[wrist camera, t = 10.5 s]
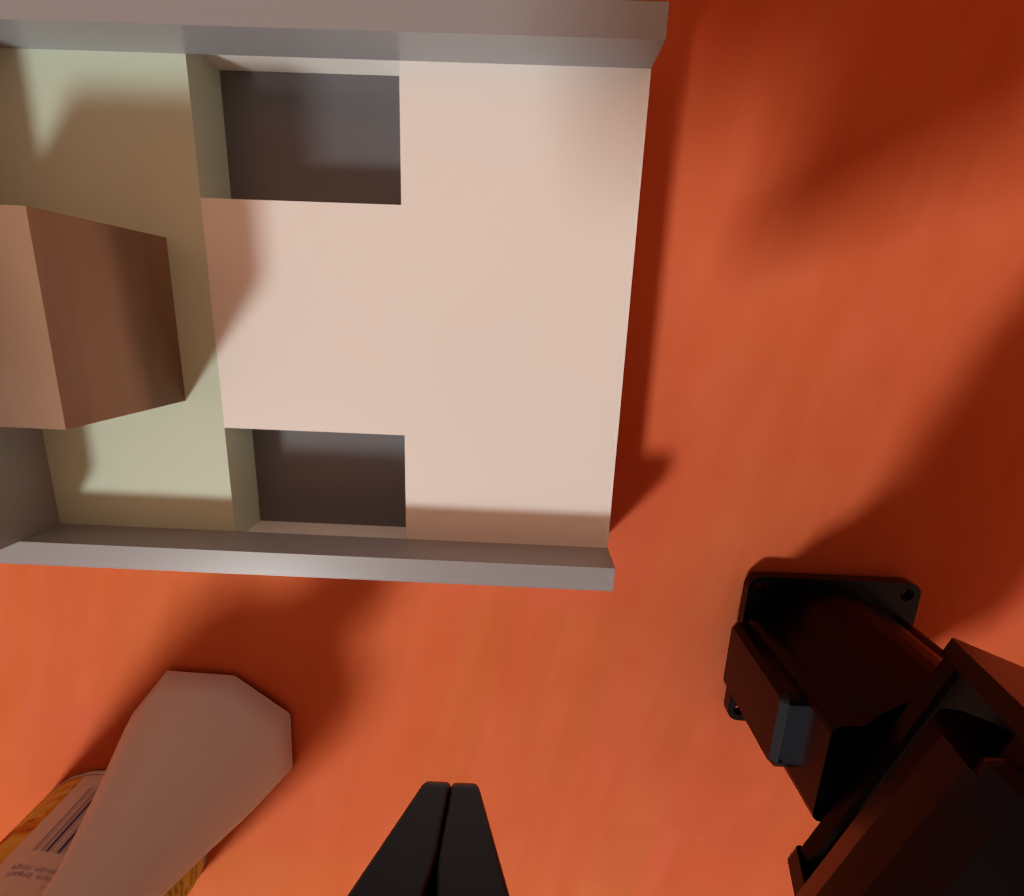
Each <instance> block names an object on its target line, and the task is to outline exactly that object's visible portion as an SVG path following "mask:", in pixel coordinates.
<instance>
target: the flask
mask: <svg viewBox="0 0 1024 896" xmlns="http://www.w3.org/2000/svg"><path fill="white" fill-rule="evenodd" d="M292 768H293V761H292V739H291V717H290V713H288V712H287V711H285V710H284V709H283V708H281V707H280V706H278V705H277V704H275V703H274V702H272V701H271V700H269V699H268V698H267V697H265V696H264V695H262V694H261V693H259V692H258V691H256V690H255V689H253V688H252V687H251V686H249V685H248V684H246V683H245V682H243V681H242V680H240V679H239V678H237V677H236V676H234V675H221V674H207V673H194V672H180V671H166V672H165V673H164V675H163V676H162V677H161V678H160V680H159V681H158V682H157V683H156V685H155V686H154V687H153V688H152V690H151V691H150V692H149V693H148V695H147V696H146V697H145V698H144V699H143V701H142V702H141V703H140V704H139V706H138V707H137V708H136V709H135V711H134V712H133V713H132V715H131V717H130V719H129V721H128V723H127V725H126V727H125V729H124V731H123V734H122V736H121V738H120V740H119V742H118V745H117V747H116V749H115V751H114V754H113V756H112V758H111V760H110V762H109V765H108V767H107V769H106V771H105V774H104V776H103V778H102V780H101V782H100V785H99V787H98V789H97V791H96V793H95V795H94V797H93V799H92V801H91V803H90V805H89V807H88V809H87V811H86V813H85V815H84V818H83V820H82V822H81V824H80V826H79V828H78V830H77V832H76V834H75V836H74V838H73V840H72V842H71V844H70V846H69V848H68V850H67V852H66V854H65V856H64V858H63V860H62V862H61V864H60V866H59V868H58V870H57V871H56V873H55V875H54V876H53V878H52V879H51V881H50V882H49V884H48V885H47V887H46V888H45V890H44V891H43V893H42V895H41V896H164V895H165V894H166V893H167V892H168V891H169V890H170V889H171V888H172V887H173V886H174V885H175V884H176V883H177V882H178V881H179V880H180V879H181V878H182V877H183V876H184V875H185V874H186V873H187V872H188V871H189V870H190V869H191V868H192V867H193V866H194V865H195V864H196V863H197V862H198V861H199V860H200V859H201V858H202V857H204V856H205V855H206V854H207V853H208V852H209V851H210V850H211V849H212V848H213V847H214V846H215V845H217V844H218V843H219V842H220V841H221V840H222V839H223V838H224V837H225V836H226V835H227V834H229V833H230V832H231V831H232V830H233V829H234V828H235V827H236V826H237V825H238V824H239V823H240V822H242V821H243V820H244V819H245V818H246V817H247V816H248V815H249V814H250V813H251V812H252V811H253V810H254V809H255V808H256V807H257V806H258V805H259V804H260V803H261V802H262V800H263V799H264V798H265V797H266V796H267V795H268V794H269V793H270V792H271V791H272V790H273V789H274V788H275V787H276V786H277V784H278V783H279V782H280V781H281V780H282V779H283V778H284V777H285V776H286V775H287V774H288V773H289V772H290V771H291V770H292Z"/></svg>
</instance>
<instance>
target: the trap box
mask: <svg viewBox="0 0 1024 896" xmlns="http://www.w3.org/2000/svg"><path fill="white" fill-rule="evenodd" d="M668 12H669V2H666V1H633V0H0V205H19V206H29V207H33V208H38V209H42V210H46V211H51V212H55V213H60V214H64V215H69V216H73V217H77V218H82V219H86V220H91V221H95V222H99V223H104V224H108V225H113V226H117V227H122V228H126V229H130V230H135V231H139V232H144V233H148V234H153V235H157V236H161V237H166V240H167V249H168V257H169V266H170V274H171V283H172V291H173V299H174V308H175V316H176V325H177V333H178V341H179V350H180V358H181V367H182V375H183V384H184V392H185V400H186V401H182V402H178V403H174V404H170V405H166V406H162V407H158V408H154V409H150V410H145V411H141V412H137V413H133V414H129V415H125V416H121V417H117V418H112V419H108V420H104V421H100V422H96V423H92V424H88V425H84V426H79V427H75V428H71V429H67V430H59V429H37V428H15V427H0V563H10V564H32V565H54V566H76V567H98V568H120V569H141V570H163V571H185V572H207V573H229V574H251V575H272V576H294V577H316V578H338V579H360V580H381V581H403V582H425V583H447V584H469V585H491V586H512V587H534V588H556V589H578V590H600V591H613V584H614V574H615V567H614V564H613V561H612V559H611V556H610V553H609V550H608V538H609V527H610V516H611V505H612V494H613V483H614V472H615V461H616V450H617V439H618V428H619V417H620V406H621V395H622V384H623V373H624V362H625V351H626V340H627V329H628V318H629V307H630V296H631V285H632V274H633V263H634V252H635V241H636V230H637V219H638V208H639V197H640V186H641V175H642V164H643V153H644V143H645V132H646V121H647V110H648V99H649V88H650V77H651V68H652V66H653V64H654V62H655V60H656V58H657V56H658V54H659V52H660V50H661V48H662V46H663V44H664V43H665V41H666V33H667V23H668Z"/></svg>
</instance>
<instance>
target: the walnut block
mask: <svg viewBox="0 0 1024 896" xmlns="http://www.w3.org/2000/svg"><path fill="white" fill-rule="evenodd" d="M182 401H186V400H185V392H184V384H183V375H182V367H181V358H180V350H179V341H178V333H177V325H176V316H175V308H174V299H173V291H172V283H171V274H170V266H169V257H168V249H167V240H166V237H161V236H157V235H153V234H148V233H144V232H139V231H135V230H130V229H126V228H122V227H117V226H113V225H108V224H104V223H99V222H95V221H91V220H86V219H82V218H77V217H73V216H69V215H64V214H60V213H55V212H51V211H46V210H42V209H38V208H33V207H29V206H19V205H0V427H15V428H37V429H59V430H67V429H71V428H75V427H79V426H84V425H88V424H92V423H96V422H100V421H104V420H108V419H112V418H117V417H121V416H125V415H129V414H133V413H137V412H141V411H145V410H150V409H154V408H158V407H162V406H166V405H170V404H174V403H178V402H182Z"/></svg>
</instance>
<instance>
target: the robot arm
mask: <svg viewBox="0 0 1024 896" xmlns="http://www.w3.org/2000/svg"><path fill="white" fill-rule="evenodd" d="M762 582H763V583H764V584H763V586H762V587H761V588H760V589H755V586H756V585H757V584H758V583H762ZM904 590H906V592H905V593H904V594H903V595H900V594H901V593H902V592H903V591H904ZM920 594H921V591H920V589H919V587H918V586H916V585H915V584H914V583H912V582H911V581H909V580H908V579H904V578H888V577H866V576H843V575H821V574H799V573H777V572H753V573H751V574H749V575H748V576H747V577H746V579H745V581H744V585H743V591H742V597H741V603H740V609H739V615H738V621H737V623H735V625H734V626H733V627H732V630H731V636H730V642H729V648H728V654H727V660H726V666H725V673H724V682H725V684H726V685H727V687H726V693H725V700H724V707H725V708H726V710H727V712H728V714H729V716H730V717H731V718H733V719H735V720H743V721H746V722H747V724H748V725H749V727H750V729H751V731H752V733H753V734H754V736H755V738H756V740H757V742H758V744H759V745H760V747H761V749H762V751H763V753H764V754H765V756H766V758H767V759H768V760H769V761H770V762H771V763H772V765H773V766H781V767H784V768H785V770H786V771H787V773H788V775H789V777H790V778H791V780H792V782H793V783H794V785H795V787H796V789H797V790H798V792H799V794H800V796H801V797H802V799H803V801H804V802H805V804H806V806H807V808H808V809H809V811H810V813H811V815H812V816H813V818H814V819H815V820H817V821H820V823H819V824H818V826H817V827H816V828H815V830H814V831H813V832H812V834H811V835H810V836H809V838H808V839H807V840H806V842H805V843H804V844H803V846H800V845H798V846H797V847H796V848H795V849H794V851H793V852H792V853H791V855H790V856H789V857H788V864H789V869H790V875H791V880H792V885H793V890H794V895H795V896H1024V667H1021V666H1019V665H1017V664H1014V663H1012V662H1010V661H1007V660H1005V659H1002V658H1000V657H998V656H995V655H993V654H991V653H988V652H986V651H983V650H981V649H979V648H976V647H974V646H972V645H969V644H967V643H964V642H962V641H960V640H957V639H955V638H952V639H951V640H950V642H949V643H948V644H947V646H946V647H945V648H944V650H943V649H941V648H940V647H939V646H937V645H936V644H935V643H934V642H932V641H931V640H930V639H929V638H927V637H926V636H925V635H924V634H922V633H921V632H920V631H919V630H917V629H916V628H915V627H913V622H914V618H915V615H916V611H917V607H918V603H919V599H920ZM737 705H738V707H739V708H735V707H736V706H737ZM348 896H509V893H508V889H507V886H506V882H505V878H504V875H503V871H502V868H501V864H500V861H499V857H498V854H497V850H496V846H495V843H494V839H493V836H492V832H491V829H490V825H489V822H488V818H487V814H486V811H485V807H484V804H483V800H482V797H481V793H480V790H479V787H478V786H477V785H476V784H473V783H454V784H453V785H452V787H451V785H450V784H449V783H447V782H433V781H428V782H426V783H424V784H423V785H422V787H421V788H420V789H419V791H418V792H417V794H416V795H415V797H414V798H413V800H412V801H411V803H410V804H409V806H408V807H407V809H406V810H405V812H404V813H403V815H402V816H401V818H400V819H399V820H398V822H397V823H396V825H395V826H394V828H393V829H392V831H391V832H390V834H389V835H388V837H387V838H386V840H385V841H384V843H383V844H382V846H381V847H380V849H379V850H378V852H377V853H376V854H375V856H374V857H373V859H372V860H371V862H370V863H369V865H368V866H367V868H366V869H365V871H364V872H363V874H362V875H361V877H360V878H359V880H358V881H357V883H356V884H355V886H354V887H353V888H352V890H351V891H350V893H349V894H348Z"/></svg>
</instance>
